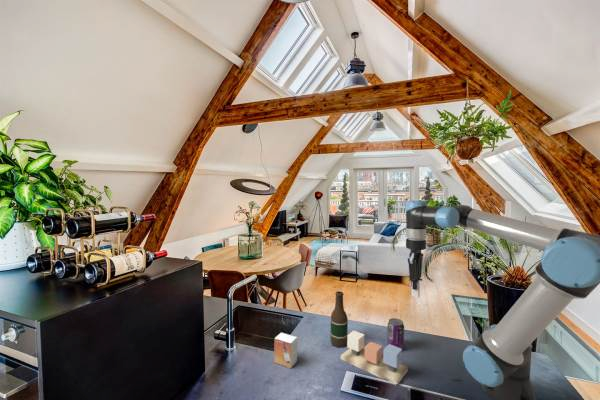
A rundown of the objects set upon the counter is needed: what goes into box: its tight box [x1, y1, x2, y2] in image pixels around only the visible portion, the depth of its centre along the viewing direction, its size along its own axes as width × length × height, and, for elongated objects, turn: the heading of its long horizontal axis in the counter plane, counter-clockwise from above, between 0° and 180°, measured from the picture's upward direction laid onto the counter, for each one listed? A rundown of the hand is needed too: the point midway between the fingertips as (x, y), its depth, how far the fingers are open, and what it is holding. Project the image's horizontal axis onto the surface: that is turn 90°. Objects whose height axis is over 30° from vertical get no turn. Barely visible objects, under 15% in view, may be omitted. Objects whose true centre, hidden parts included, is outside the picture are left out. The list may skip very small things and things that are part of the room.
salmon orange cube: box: [364, 341, 383, 365], centre depth 115 cm, size 5×5×5 cm
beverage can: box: [386, 317, 405, 350], centre depth 127 cm, size 7×7×12 cm
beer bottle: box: [330, 290, 349, 349], centre depth 130 cm, size 8×8×24 cm
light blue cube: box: [382, 344, 403, 368], centre depth 110 cm, size 5×5×5 cm
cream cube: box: [346, 330, 366, 352], centre depth 120 cm, size 5×5×5 cm
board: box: [340, 347, 409, 384], centre depth 115 cm, size 24×11×6 cm, turn 49°
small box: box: [273, 332, 298, 369], centre depth 116 cm, size 8×6×10 cm
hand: (415, 296), depth 115 cm, fingers closed
